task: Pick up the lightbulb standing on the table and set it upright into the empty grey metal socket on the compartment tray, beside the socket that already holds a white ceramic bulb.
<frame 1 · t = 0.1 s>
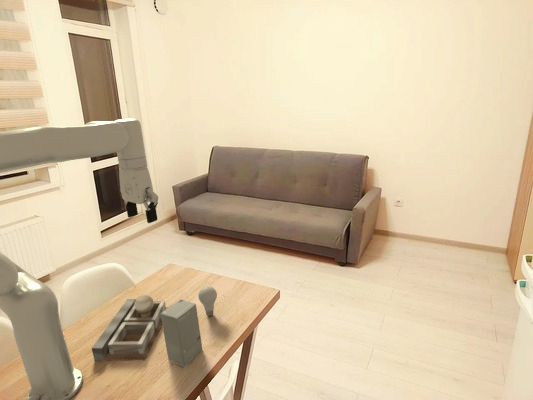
hand: (142, 218, 103), 37 cm above the table, tool pointing down, fingers open, 9 cm apart
compartment tray: (140, 332, 109), on the table
lightbulb: (210, 315, 116), on the table
skincare box: (185, 354, 99), on the table
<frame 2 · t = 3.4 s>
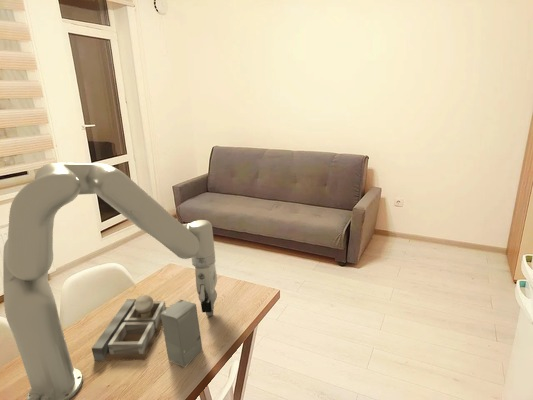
hand: (208, 305, 115), 4 cm above the table, tool pointing down, fingers closed on lightbulb, 5 cm apart
lightbulb: (210, 315, 116), on the table, touching gripper
everything else where it was.
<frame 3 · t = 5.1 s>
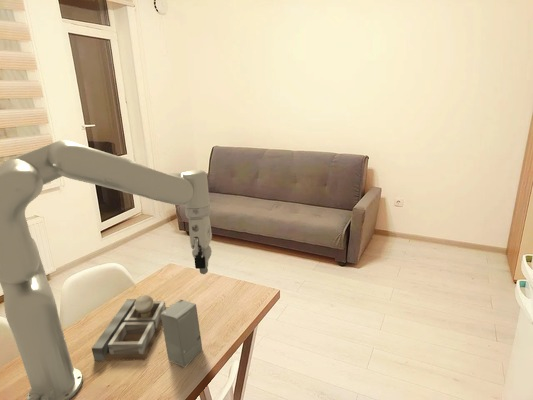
hand: (202, 262, 110), 20 cm above the table, tool pointing down, fingers closed on lightbulb, 5 cm apart
lightbulb: (204, 274, 111), point 16 cm above the table, touching gripper
everything else where it was.
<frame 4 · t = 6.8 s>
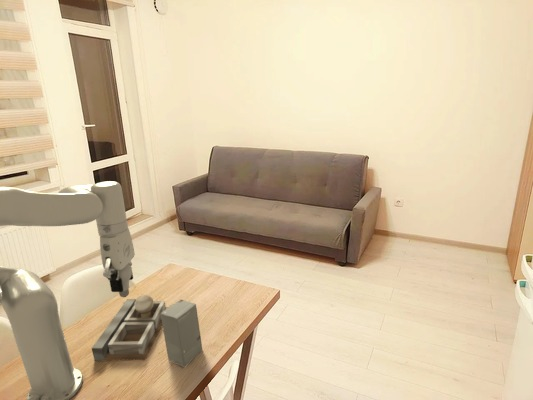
hand: (122, 284, 98), 21 cm above the table, tool pointing down, fingers closed on lightbulb, 5 cm apart
lightbulb: (124, 297, 99), point 17 cm above the table, touching gripper
everything else where it was.
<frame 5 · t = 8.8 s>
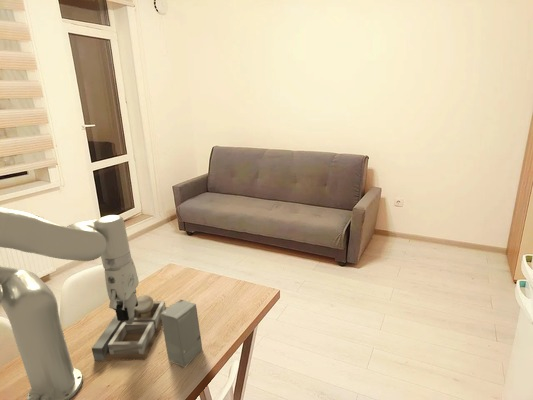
hand: (128, 312, 101), 11 cm above the table, tool pointing down, fingers closed on lightbulb, 5 cm apart
lightbulb: (130, 324, 102), point 7 cm above the table, touching gripper
everything else where it was.
when the fingers open (6 cm above the table, at t = 10.4 s): lightbulb stays where it is, resting on compartment tray.
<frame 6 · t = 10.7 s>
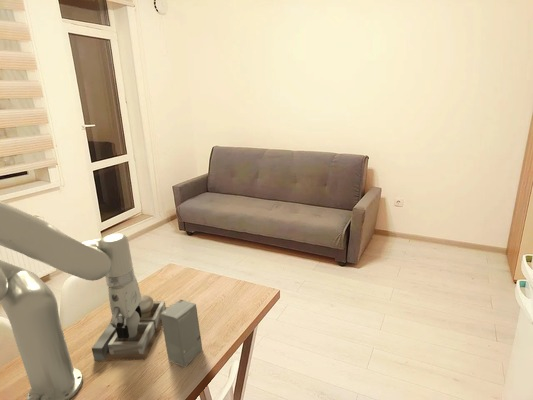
hand: (130, 326, 102), 6 cm above the table, tool pointing down, fingers open, 8 cm apart
lightbulb: (133, 342, 104), point 1 cm above the table, touching compartment tray
everything else where it was.
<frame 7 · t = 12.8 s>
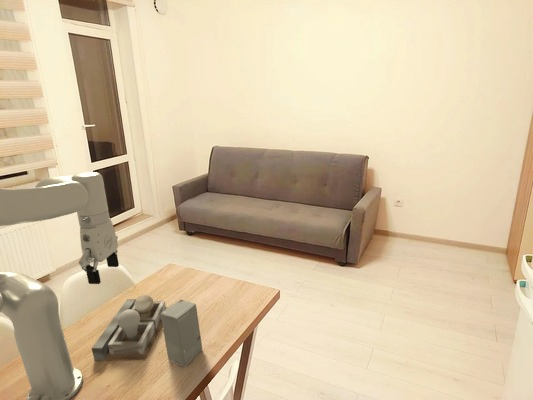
hand: (104, 274, 97), 25 cm above the table, tool pointing down, fingers open, 9 cm apart
nothing on the table moved.
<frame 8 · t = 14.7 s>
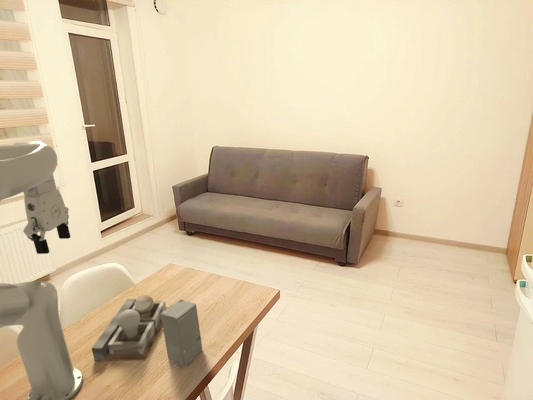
hand: (54, 245, 96), 33 cm above the table, tool pointing down, fingers open, 9 cm apart
nothing on the table moved.
at the end: lightbulb 0.3 cm from the target spot on the compartment tray, point 0.6 cm above the compartment tray's base; lightbulb tilted 0°; the gripper is holding nothing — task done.
